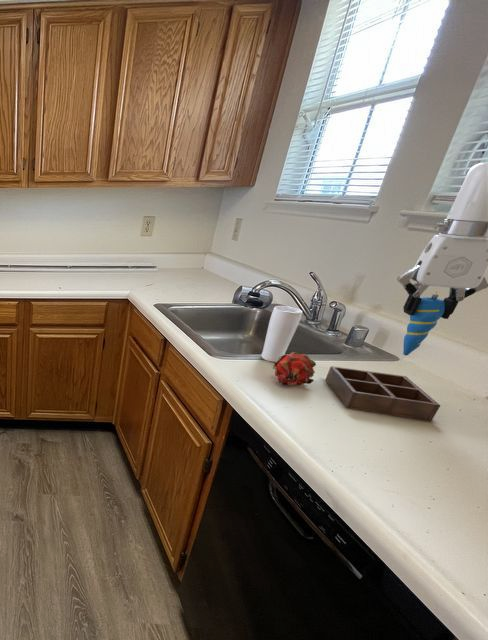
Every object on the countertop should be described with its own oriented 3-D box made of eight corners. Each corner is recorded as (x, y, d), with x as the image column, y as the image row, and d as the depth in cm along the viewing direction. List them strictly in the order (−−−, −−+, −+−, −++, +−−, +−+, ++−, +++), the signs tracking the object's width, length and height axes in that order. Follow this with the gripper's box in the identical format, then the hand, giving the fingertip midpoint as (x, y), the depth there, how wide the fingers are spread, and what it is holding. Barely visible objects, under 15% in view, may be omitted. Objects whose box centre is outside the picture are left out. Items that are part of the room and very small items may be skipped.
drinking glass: (254, 353, 124) (269, 304, 118) (279, 355, 123) (296, 306, 116) (262, 362, 118) (279, 311, 112) (289, 365, 117) (308, 313, 110)
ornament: (389, 354, 97) (419, 291, 90) (392, 349, 100) (421, 287, 94) (419, 361, 94) (452, 296, 87) (421, 355, 97) (454, 292, 90)
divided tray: (398, 390, 104) (405, 376, 102) (431, 421, 91) (440, 405, 89) (324, 380, 109) (330, 365, 107) (346, 407, 96) (353, 392, 94)
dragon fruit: (293, 380, 112) (285, 402, 104) (269, 357, 113) (259, 377, 106) (325, 363, 105) (319, 385, 98) (299, 339, 106) (291, 359, 99)
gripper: (424, 229, 84) (385, 315, 92) (537, 234, 79) (486, 325, 87) (406, 225, 91) (371, 306, 99) (510, 230, 85) (464, 315, 93)
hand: (425, 314), depth 93 cm, fingers closed on ornament, 5 cm apart
